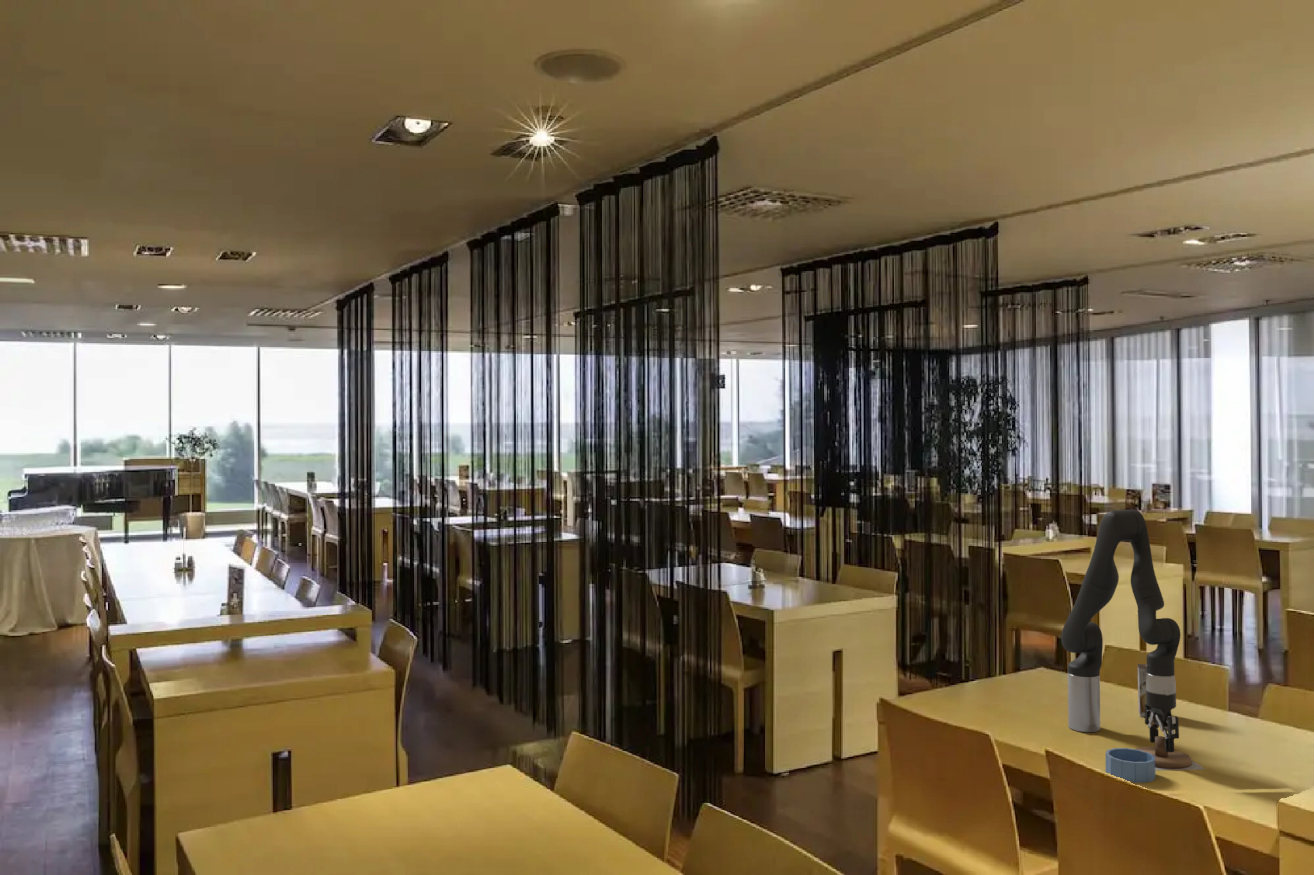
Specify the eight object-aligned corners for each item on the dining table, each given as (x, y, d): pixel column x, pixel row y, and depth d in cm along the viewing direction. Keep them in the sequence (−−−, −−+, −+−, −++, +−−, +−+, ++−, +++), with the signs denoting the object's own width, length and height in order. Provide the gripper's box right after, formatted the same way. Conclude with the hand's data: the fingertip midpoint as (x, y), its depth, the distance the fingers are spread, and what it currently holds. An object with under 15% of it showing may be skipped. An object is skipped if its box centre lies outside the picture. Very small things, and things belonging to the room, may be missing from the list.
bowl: (1098, 770, 275) (1098, 748, 275) (1141, 769, 275) (1141, 747, 275) (1118, 785, 263) (1118, 763, 263) (1164, 785, 263) (1163, 762, 263)
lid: (1122, 751, 288) (1122, 730, 288) (1174, 750, 288) (1173, 729, 288) (1148, 769, 273) (1147, 746, 273) (1202, 768, 273) (1202, 746, 273)
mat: (1119, 753, 288) (1119, 750, 288) (1175, 752, 288) (1175, 749, 288) (1147, 773, 272) (1147, 770, 272) (1205, 772, 272) (1205, 769, 272)
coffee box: (1168, 714, 326) (1168, 665, 325) (1170, 719, 320) (1170, 669, 319) (1137, 711, 329) (1137, 663, 329) (1139, 717, 323) (1138, 667, 323)
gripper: (1135, 683, 287) (1136, 739, 287) (1160, 696, 273) (1161, 755, 273) (1161, 683, 287) (1162, 739, 287) (1187, 696, 273) (1188, 755, 273)
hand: (1161, 747), depth 280 cm, fingers open, 8 cm apart
